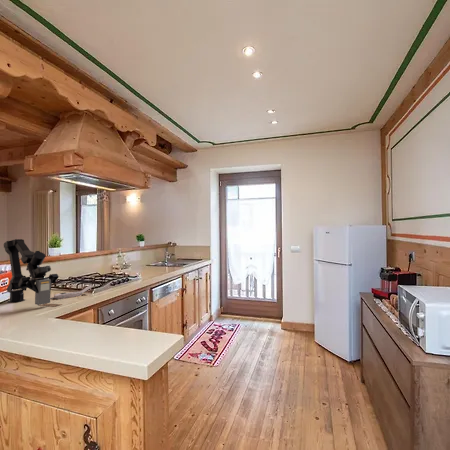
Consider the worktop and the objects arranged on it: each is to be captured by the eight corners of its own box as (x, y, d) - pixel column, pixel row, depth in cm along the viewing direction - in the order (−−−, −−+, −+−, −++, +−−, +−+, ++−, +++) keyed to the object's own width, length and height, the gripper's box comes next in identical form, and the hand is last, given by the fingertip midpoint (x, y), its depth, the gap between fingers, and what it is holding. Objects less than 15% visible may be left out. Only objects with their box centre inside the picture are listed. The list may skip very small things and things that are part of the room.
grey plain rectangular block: (34, 304, 149) (35, 280, 150) (46, 301, 154) (47, 279, 155) (38, 304, 147) (39, 281, 148) (50, 302, 152) (51, 279, 153)
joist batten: (38, 305, 155) (38, 305, 155) (45, 303, 159) (45, 303, 159) (55, 306, 152) (55, 306, 152) (62, 304, 156) (62, 303, 156)
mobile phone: (94, 285, 188) (53, 291, 169) (93, 294, 187) (52, 300, 169) (90, 285, 192) (50, 290, 173) (90, 293, 191) (50, 299, 173)
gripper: (21, 262, 146) (30, 284, 140) (57, 260, 162) (67, 279, 156) (14, 276, 150) (23, 298, 143) (50, 272, 165) (59, 292, 159)
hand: (44, 291), depth 150 cm, fingers closed on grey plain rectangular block, 6 cm apart
